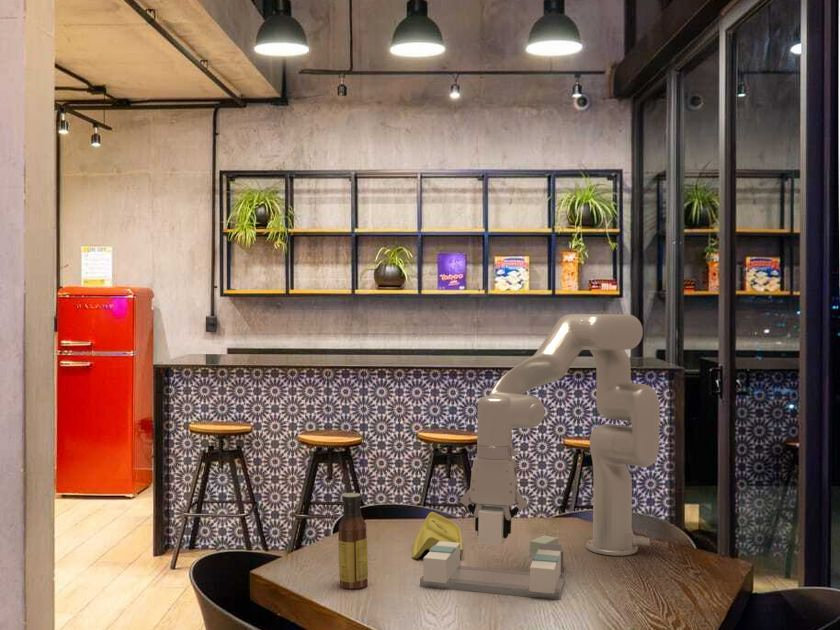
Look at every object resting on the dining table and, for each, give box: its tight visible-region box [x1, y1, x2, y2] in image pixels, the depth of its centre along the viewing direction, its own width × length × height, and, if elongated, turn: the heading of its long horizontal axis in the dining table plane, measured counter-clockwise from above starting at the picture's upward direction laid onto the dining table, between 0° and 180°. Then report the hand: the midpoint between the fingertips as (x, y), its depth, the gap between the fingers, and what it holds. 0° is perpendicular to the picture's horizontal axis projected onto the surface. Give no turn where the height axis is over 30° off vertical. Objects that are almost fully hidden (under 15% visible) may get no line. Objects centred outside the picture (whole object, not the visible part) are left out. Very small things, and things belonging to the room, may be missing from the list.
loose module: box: [477, 505, 507, 547], centre depth 183 cm, size 5×8×7 cm, turn 165°
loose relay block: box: [540, 544, 564, 574], centre depth 194 cm, size 5×6×5 cm
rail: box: [419, 565, 566, 601], centre depth 183 cm, size 30×12×2 cm, turn 75°
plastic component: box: [411, 511, 464, 560], centre depth 210 cm, size 20×7×10 cm
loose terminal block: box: [529, 534, 559, 558], centre depth 206 cm, size 4×7×4 cm, turn 143°
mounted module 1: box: [422, 541, 461, 583], centre depth 186 cm, size 5×14×5 cm, turn 165°
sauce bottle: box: [337, 492, 369, 590], centre depth 181 cm, size 7×6×20 cm
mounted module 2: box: [529, 549, 562, 594], centre depth 180 cm, size 5×14×5 cm, turn 165°
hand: (492, 534), depth 183 cm, fingers closed on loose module, 5 cm apart
